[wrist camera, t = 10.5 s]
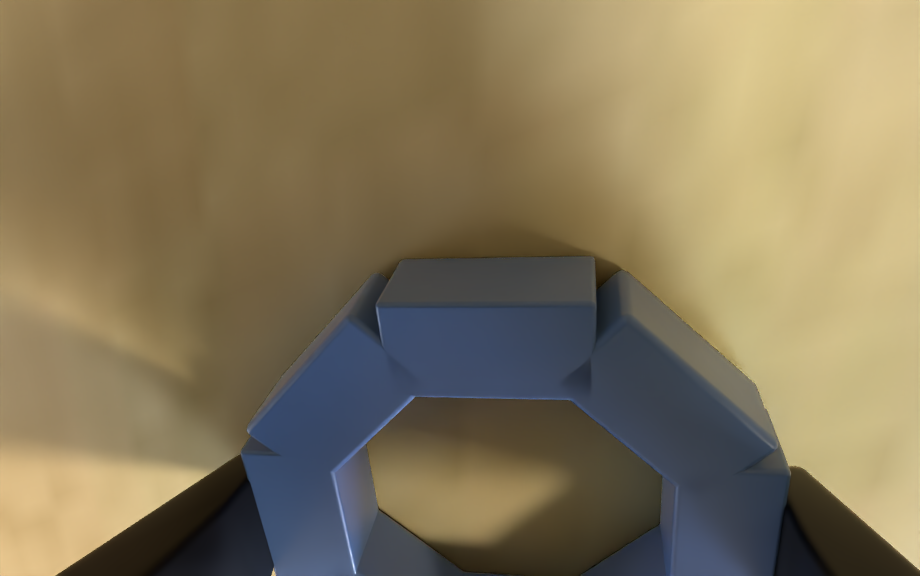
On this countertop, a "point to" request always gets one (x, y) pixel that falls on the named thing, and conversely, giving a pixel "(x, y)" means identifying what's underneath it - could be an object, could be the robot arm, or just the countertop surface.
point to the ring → (515, 377)
